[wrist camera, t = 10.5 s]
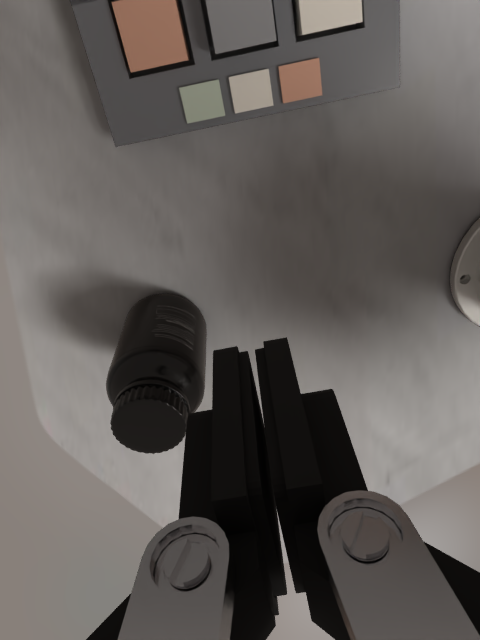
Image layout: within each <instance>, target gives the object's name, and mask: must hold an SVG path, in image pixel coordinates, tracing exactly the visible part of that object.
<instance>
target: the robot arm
mask: <svg viewBox="0 0 480 640" xmlns="http://www.w3.org/2000/svg"><path fill="white" fill-rule="evenodd" d="M450 285H451V293H452V295H453V298H454V301H455V303H456V305H457V306H458V307H459V309H460V310H461V312H462V313H463V314H464V315H465V316H466V317H467V318H468V319H469V320H470V321H471V322H473V323H474V324H476V325H477V326H479V327H480V218H479V219H478V220H477V221H476V222H475V223H474V224H473V225H472V227H471V228H470V229H469V231H468V232H467V233H466V235H465V236H464V238H463V239H462V241H461V243H460V245H459V247H458V249H457V251H456V253H455V256H454V259H453V263H452V266H451V274H450ZM263 343H264V348H261V349H256V350H255V354H256V362H257V370H258V378H259V386H260V394H261V402H262V410H263V418H264V423H263V418H262V414H261V409H260V404H259V400H258V395H257V391H256V386H255V381H254V377H253V372H252V368H251V363H250V358H249V354H248V351H245V352H239V350H238V347H231V348H225V349H220V350H214V351H213V401H212V410H207V411H201V412H195V413H190V414H189V415H188V418H187V426H186V438H185V450H184V462H183V474H182V486H181V498H180V510H179V520H176V521H174V522H172V523H170V524H168V525H166V526H165V527H164V528H163V529H161V530H160V531H159V532H158V533H156V535H155V536H154V537H153V539H152V540H151V541H150V542H149V544H148V545H147V547H146V549H145V552H144V554H143V556H142V559H141V562H140V566H139V569H138V572H137V576H136V579H135V582H134V586H133V589H132V593H131V594H130V595H129V596H128V597H127V598H126V599H125V600H124V601H123V602H122V603H121V604H120V605H119V606H118V607H117V608H116V609H115V610H114V611H113V612H112V614H111V615H110V616H109V617H108V618H107V619H106V620H105V621H104V622H103V623H102V624H101V625H100V626H99V627H98V628H97V629H96V630H95V631H94V632H93V633H92V634H91V635H90V636H89V637H88V638H87V639H86V640H266V639H267V637H268V636H269V634H270V633H271V632H272V630H273V629H274V627H275V626H276V625H275V615H279V612H278V602H277V596H281V595H286V594H287V588H286V580H285V572H284V564H283V556H282V549H281V541H280V533H279V525H278V517H277V512H278V516H279V521H280V525H281V530H282V534H283V538H284V543H285V547H286V552H287V556H288V560H289V565H290V569H291V573H292V578H293V582H294V587H295V591H296V593H301V592H306V595H307V600H308V605H309V610H310V615H311V619H312V621H313V622H314V623H316V624H317V625H318V626H319V627H320V628H322V629H323V630H324V631H325V632H327V633H328V634H329V635H330V636H332V637H333V638H334V639H335V640H480V573H479V572H477V571H476V570H474V569H472V568H470V567H469V566H467V565H465V564H463V563H461V562H459V561H458V560H456V559H454V558H452V557H451V556H449V555H447V554H445V553H443V552H442V551H440V550H438V549H436V548H434V547H433V546H431V545H429V544H427V543H425V542H423V540H422V538H421V537H420V535H419V534H418V532H417V530H416V528H415V527H414V525H413V523H412V522H411V520H410V518H409V517H408V515H407V514H406V513H405V512H404V511H403V509H402V508H401V507H400V506H399V505H398V504H397V503H395V502H394V501H393V500H391V499H390V498H388V497H387V496H384V495H381V494H379V493H376V492H372V491H368V490H367V487H366V484H365V481H364V478H363V475H362V472H361V469H360V466H359V463H358V460H357V457H356V455H355V452H354V449H353V446H352V443H351V440H350V437H349V434H348V431H347V428H346V425H345V422H344V420H343V417H342V414H341V411H340V408H339V405H338V402H337V399H336V396H335V394H334V391H333V390H332V389H329V390H323V391H317V392H311V393H305V394H301V393H300V389H299V385H298V381H297V377H296V373H295V369H294V365H293V360H292V356H291V352H290V348H289V344H288V340H287V337H286V338H281V339H275V340H270V341H264V342H263ZM264 426H265V427H264ZM276 508H277V510H276Z"/></svg>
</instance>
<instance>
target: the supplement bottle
mask: <svg viewBox="0 0 480 640" xmlns="http://www.w3.org/2000/svg"><path fill="white" fill-rule="evenodd" d="M206 337H207V329H206V323H205V319H204V317H203V315H202V313H201V312H200V310H199V309H198V308H197V307H196V306H195V305H194V304H193V303H192V302H190V301H189V300H187V299H185V298H183V297H180V296H177V295H173V294H155V295H151V296H148V297H146V298H144V299H142V300H140V301H139V302H138V303H136V304H135V305H134V306H133V307H132V309H131V310H130V312H129V314H128V316H127V318H126V321H125V323H124V326H123V329H122V332H121V335H120V339H119V342H118V345H117V348H116V351H115V354H114V357H113V360H112V363H111V366H110V369H109V372H108V376H107V381H106V390H107V395H108V398H109V400H110V402H111V404H112V406H113V413H112V418H111V430H112V431H113V435H114V436H115V437H116V439H117V440H118V441H120V443H121V444H123V445H125V446H126V447H127V448H130V449H131V450H134V451H138V452H143V453H153V454H154V453H161V452H163V451H168V450H169V449H172V448H174V447H175V446H177V445H178V444H179V442H181V441H182V440H183V437H184V436H185V434H186V426H187V418H188V415H189V414H190V413H194V412H195V411H196V410H197V409H198V407H199V406H200V404H201V402H202V399H203V396H204V389H205V367H206V339H207V338H206Z"/></svg>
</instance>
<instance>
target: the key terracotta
mask: <svg viewBox="0 0 480 640" xmlns="http://www.w3.org/2000/svg"><path fill="white" fill-rule="evenodd" d="M112 6H113V10H114V13H115V17H116V21H117V24H118V28H119V32H120V35H121V39H122V43H123V46H124V50H125V54H126V57H127V61H128V65H129V68H130V72H131V73H132V72H136V71H141V70H145V69H150V68H155V67H159V66H164V65H168V64H173V63H177V62H182V61H187V60H190V55H189V50H188V45H187V41H186V36H185V31H184V26H183V22H182V17H181V12H180V8H179V3H178V0H119V1H115V2H112Z"/></svg>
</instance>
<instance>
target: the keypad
mask: <svg viewBox="0 0 480 640" xmlns="http://www.w3.org/2000/svg"><path fill="white" fill-rule="evenodd" d="M115 1H119V0H70V2H71V5H72V8H73V12H74V15H75V18H76V21H77V24H78V28H79V31H80V34H81V37H82V40H83V44H84V47H85V50H86V53H87V56H88V60H89V63H90V66H91V69H92V73H93V76H94V79H95V82H96V85H97V89H98V92H99V95H100V98H101V101H102V105H103V108H104V111H105V114H106V117H107V121H108V124H109V127H110V130H111V133H112V137H113V140H114V143H115V146H116V147H118V146H123V145H127V144H132V143H137V142H142V141H146V140H151V139H156V138H161V137H166V136H170V135H175V134H180V133H185V132H189V131H194V130H199V129H204V128H208V127H213V126H218V125H223V124H228V123H232V122H237V121H242V120H247V119H251V118H256V117H261V116H266V115H271V114H275V113H280V112H285V111H290V110H294V109H299V108H304V107H309V106H313V105H318V104H323V103H328V102H333V101H337V100H342V99H347V98H352V97H356V96H361V95H366V94H371V93H375V92H380V91H385V90H390V89H395V88H399V87H400V0H362V21H363V22H360V23H356V24H351V25H346V26H342V27H337V28H333V29H328V30H324V31H319V32H314V33H310V34H305V35H301V36H296V33H295V24H294V14H293V5H292V0H178V3H179V8H180V12H181V17H182V22H183V26H184V31H185V36H186V41H187V45H188V50H189V55H190V60H187V61H182V62H177V63H173V64H168V65H164V66H159V67H155V68H150V69H145V70H141V71H136V72H132V73H131V72H130V68H129V65H128V61H127V57H126V54H125V50H124V46H123V43H122V39H121V35H120V32H119V28H118V24H117V21H116V17H115V13H114V10H113V6H112V2H115Z"/></svg>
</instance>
